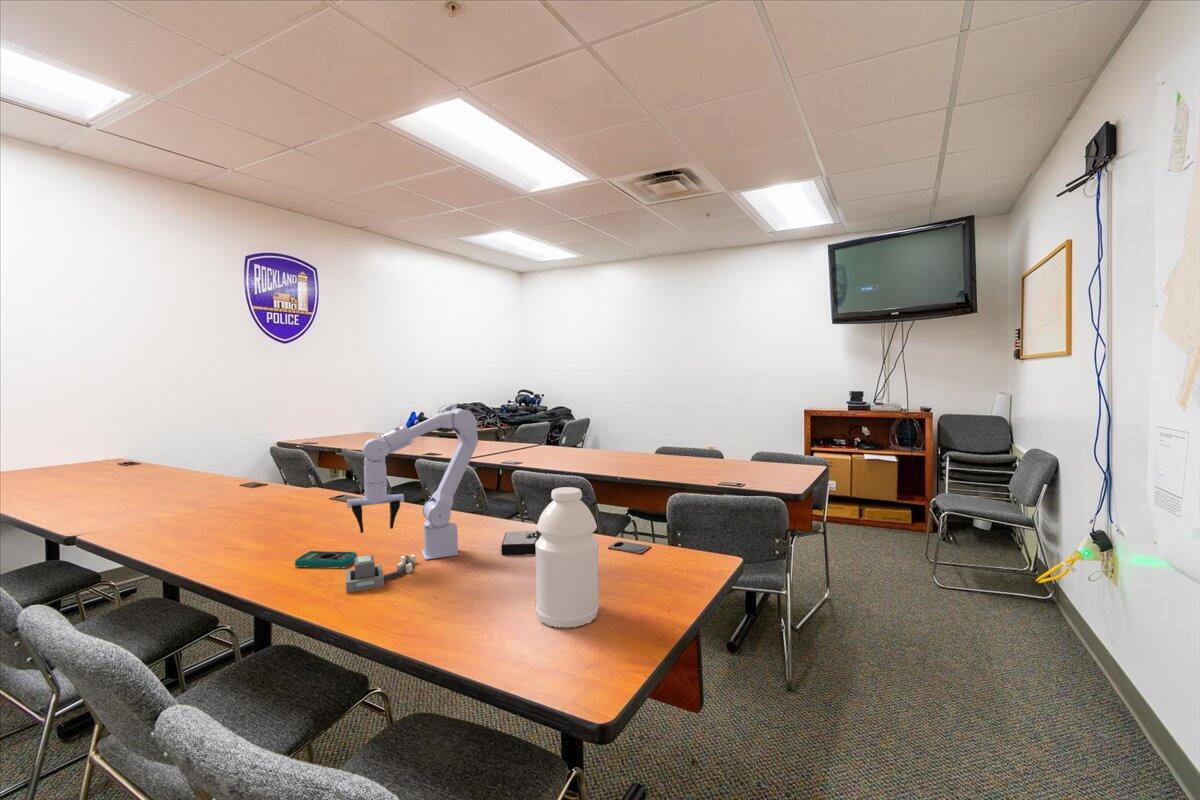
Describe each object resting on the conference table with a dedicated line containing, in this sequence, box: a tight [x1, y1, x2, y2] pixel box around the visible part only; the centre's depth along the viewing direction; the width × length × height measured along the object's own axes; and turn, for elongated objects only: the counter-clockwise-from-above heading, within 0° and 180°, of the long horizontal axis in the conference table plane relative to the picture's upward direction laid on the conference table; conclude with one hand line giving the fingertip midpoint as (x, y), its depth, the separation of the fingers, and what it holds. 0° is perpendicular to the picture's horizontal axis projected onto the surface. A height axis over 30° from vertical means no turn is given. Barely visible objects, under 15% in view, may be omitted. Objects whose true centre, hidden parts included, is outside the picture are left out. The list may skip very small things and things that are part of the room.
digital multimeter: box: [294, 550, 358, 569], centre depth 147 cm, size 7×15×3 cm, turn 87°
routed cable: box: [383, 553, 417, 582], centre depth 141 cm, size 5×16×2 cm, turn 179°
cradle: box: [345, 564, 385, 594], centre depth 132 cm, size 8×9×2 cm
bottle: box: [535, 486, 600, 629], centre depth 114 cm, size 14×14×28 cm
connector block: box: [354, 554, 376, 580], centre depth 133 cm, size 4×6×6 cm
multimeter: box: [500, 530, 541, 556], centre depth 160 cm, size 13×19×5 cm
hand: (376, 529), depth 145 cm, fingers open, 7 cm apart
